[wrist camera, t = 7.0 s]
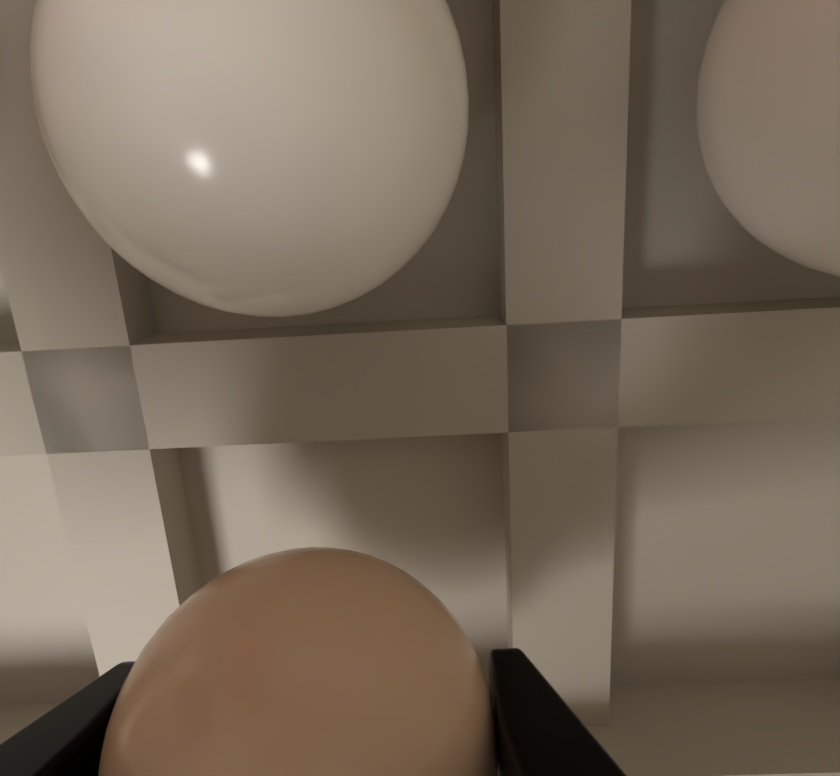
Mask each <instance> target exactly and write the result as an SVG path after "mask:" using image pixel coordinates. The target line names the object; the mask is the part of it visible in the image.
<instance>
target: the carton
mask: <svg viewBox="0 0 840 776" xmlns="http://www.w3.org/2000/svg"><path fill="white" fill-rule="evenodd" d="M36 1H37V0H0V744H1V743H3V742H4V741H6V740H7V739H9V738H10V737H11V736H13V735H14V734H16V733H17V732H19V731H20V730H22V729H23V728H25V727H26V726H28V725H29V724H31V723H32V722H34V721H35V720H36V719H38V718H39V717H41V716H42V715H44V714H45V713H47V712H48V711H50V710H51V709H53V708H54V707H56V706H57V705H59V704H60V703H61V702H63V701H64V700H66V699H67V698H69V697H70V696H72V695H73V694H75V693H76V692H78V691H79V690H81V689H82V688H84V687H85V686H86V685H88V684H89V683H91V682H92V681H94V680H95V679H97V678H98V677H100V676H101V675H103V674H104V673H106V672H107V671H108V670H110V669H111V668H113V667H114V666H116V665H117V664H119V663H122V662H126V661H136V660H137V658H138V656H139V655H140V653H141V651H142V649H143V648H144V647H145V645H146V644H147V643H148V642H149V640H150V639H151V638H152V636H153V635H154V634H155V632H156V631H157V630H158V629H159V627H160V626H161V625H162V624H163V622H164V621H165V620H166V619H167V618H168V616H169V615H171V614H172V613H173V612H174V611H175V610H176V609H177V608H178V607H179V606H180V605H181V604H182V603H183V602H184V601H185V600H187V599H188V598H189V597H190V596H191V595H192V594H193V593H195V592H196V591H197V590H198V589H200V588H201V587H203V586H204V585H205V584H207V583H208V582H210V581H211V580H212V579H214V578H216V577H218V576H219V575H221V574H223V573H225V572H226V571H228V570H230V569H232V568H234V567H236V566H238V565H240V564H242V563H244V562H247V561H249V560H252V559H255V558H258V557H260V556H263V555H267V554H271V553H275V552H280V551H284V550H289V549H296V548H306V547H331V548H338V549H346V550H351V551H355V552H359V553H363V554H367V555H370V556H373V557H375V558H378V559H381V560H383V561H386V562H388V563H390V564H392V565H394V566H396V567H397V568H399V569H401V570H403V571H405V572H406V573H408V574H409V575H411V576H412V577H413V578H415V579H416V580H418V581H419V582H420V583H422V584H423V585H424V586H425V587H426V588H427V589H428V590H430V591H431V592H432V593H433V594H434V595H435V596H436V597H437V598H438V599H440V600H441V601H442V603H443V604H444V605H445V606H446V607H447V608H448V610H449V611H450V612H451V613H452V614H453V615H454V617H455V618H456V620H457V621H458V623H459V624H460V626H461V628H462V629H463V631H464V632H465V634H466V635H467V637H468V639H469V640H470V642H471V643H472V645H473V648H474V650H475V652H476V654H477V656H478V659H479V661H480V663H481V666H482V668H483V671H484V673H485V676H486V679H487V682H488V686H489V690H490V685H489V652H490V650H492V649H497V648H519V649H520V650H522V651H523V652H524V653H525V655H526V656H527V657H528V658H529V659H530V661H531V662H532V663H533V664H534V665H535V667H536V668H537V669H538V670H539V671H540V673H541V674H542V675H543V676H544V677H545V679H546V680H547V681H548V682H549V683H550V684H551V686H552V687H553V688H554V689H555V690H556V692H557V693H558V694H559V695H560V696H561V698H562V699H563V700H564V701H565V702H566V704H567V705H568V706H569V707H570V708H571V710H572V711H573V712H574V713H575V714H576V716H577V717H578V718H579V719H580V720H581V722H582V723H583V724H584V725H585V726H586V727H587V729H588V730H589V731H590V732H591V733H592V735H593V736H594V737H595V738H596V739H597V741H598V742H599V743H600V744H601V745H602V747H603V748H604V749H605V750H606V751H607V753H608V754H609V755H610V756H611V757H612V759H613V760H614V761H615V762H616V763H617V764H618V766H619V767H620V768H621V769H622V770H623V772H624V773H625V774H626V775H627V776H840V277H839V276H835V275H831V274H828V273H824V272H821V271H817V270H814V269H811V268H807V267H805V266H803V265H800V264H798V263H796V262H794V261H792V260H789V259H787V258H785V257H783V256H782V255H780V254H778V253H776V252H775V251H773V250H772V249H770V248H769V247H767V246H766V245H764V244H762V243H761V242H759V241H758V240H757V239H756V238H754V237H753V236H752V235H751V234H750V233H749V232H748V231H747V230H746V229H744V228H743V227H742V226H741V225H740V223H739V222H738V221H737V220H736V219H735V217H734V216H733V215H732V214H731V212H730V211H729V210H728V209H727V208H726V206H725V205H724V204H723V202H722V200H721V199H720V197H719V195H718V194H717V192H716V190H715V189H714V187H713V185H712V183H711V180H710V178H709V175H708V173H707V171H706V168H705V166H704V162H703V158H702V154H701V151H700V147H699V141H698V133H697V125H696V95H697V87H698V78H699V72H700V68H701V64H702V60H703V56H704V51H705V48H706V44H707V41H708V38H709V36H710V33H711V30H712V27H713V25H714V22H715V19H716V16H717V14H718V12H719V10H720V8H721V6H722V4H723V2H724V0H446V2H447V4H448V6H449V9H450V12H451V15H452V17H453V20H454V23H455V26H456V29H457V32H458V35H459V38H460V43H461V47H462V52H463V57H464V61H465V66H466V76H467V86H468V97H469V112H468V134H467V141H466V147H465V154H464V159H463V163H462V167H461V170H460V174H459V177H458V181H457V185H456V187H455V189H454V192H453V194H452V197H451V199H450V201H449V204H448V206H447V209H446V210H445V212H444V214H443V216H442V217H441V219H440V221H439V223H438V224H437V226H436V228H435V230H434V231H433V233H432V234H431V235H430V237H429V238H428V239H427V241H426V242H425V243H424V245H423V246H422V247H421V248H420V250H419V251H418V252H417V253H416V254H415V255H414V256H413V257H412V258H411V259H410V260H409V261H408V262H407V263H406V264H405V265H404V266H403V267H402V268H401V269H400V270H399V271H398V272H397V273H395V274H394V275H393V276H391V277H390V278H389V279H388V280H386V281H385V282H384V283H382V284H381V285H379V286H378V287H376V288H374V289H372V290H371V291H369V292H367V293H366V294H364V295H362V296H360V297H358V298H356V299H354V300H351V301H349V302H346V303H344V304H341V305H339V306H337V307H334V308H331V309H327V310H323V311H319V312H315V313H311V314H305V315H297V316H289V317H259V316H252V315H245V314H238V313H231V312H226V311H222V310H219V309H215V308H211V307H208V306H204V305H201V304H199V303H196V302H194V301H192V300H189V299H187V298H184V297H182V296H179V295H178V294H176V293H174V292H172V291H171V290H169V289H167V288H165V287H163V286H162V285H160V284H158V283H156V282H155V281H153V280H151V279H150V278H148V277H147V276H146V275H144V274H143V273H141V272H140V271H139V270H137V269H136V268H135V267H133V266H132V265H130V264H129V263H128V262H126V261H125V260H124V259H123V258H122V257H121V256H120V255H119V254H118V253H117V252H116V251H114V250H113V249H112V248H111V247H110V246H109V245H108V244H107V243H106V242H105V241H104V240H103V239H102V237H101V236H100V235H99V234H98V233H97V232H96V230H95V229H94V228H93V227H92V226H91V225H90V224H89V222H88V221H87V220H86V218H85V217H84V215H83V214H82V212H81V211H80V209H79V208H78V207H77V205H76V204H75V202H74V201H73V199H72V198H71V196H70V195H69V193H68V192H67V190H66V188H65V186H64V184H63V183H62V181H61V179H60V177H59V175H58V173H57V171H56V169H55V168H54V166H53V163H52V161H51V158H50V156H49V153H48V151H47V148H46V145H45V143H44V140H43V138H42V134H41V130H40V127H39V123H38V119H37V116H36V112H35V107H34V100H33V94H32V87H31V80H30V39H31V28H32V19H33V14H34V10H35V5H36Z"/></svg>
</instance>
